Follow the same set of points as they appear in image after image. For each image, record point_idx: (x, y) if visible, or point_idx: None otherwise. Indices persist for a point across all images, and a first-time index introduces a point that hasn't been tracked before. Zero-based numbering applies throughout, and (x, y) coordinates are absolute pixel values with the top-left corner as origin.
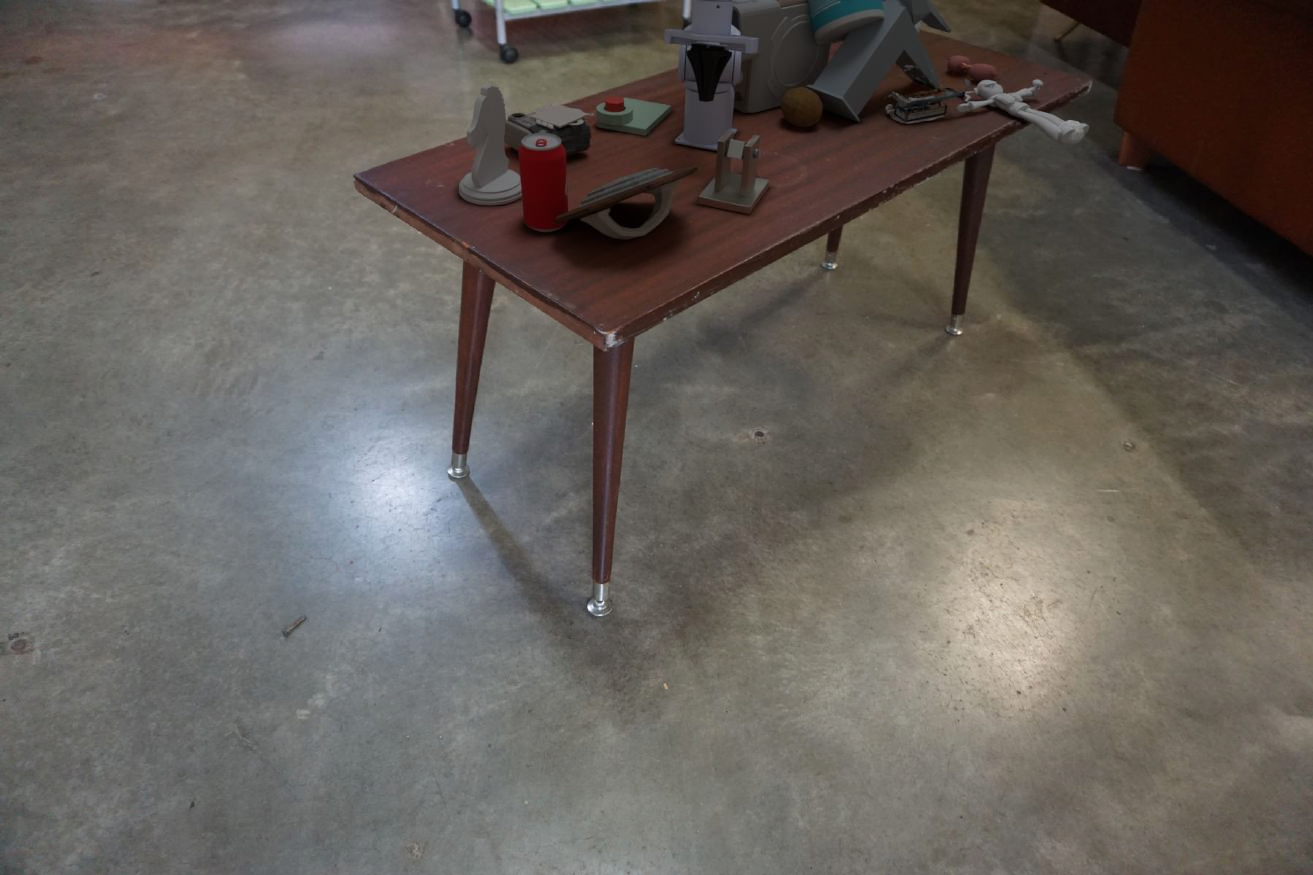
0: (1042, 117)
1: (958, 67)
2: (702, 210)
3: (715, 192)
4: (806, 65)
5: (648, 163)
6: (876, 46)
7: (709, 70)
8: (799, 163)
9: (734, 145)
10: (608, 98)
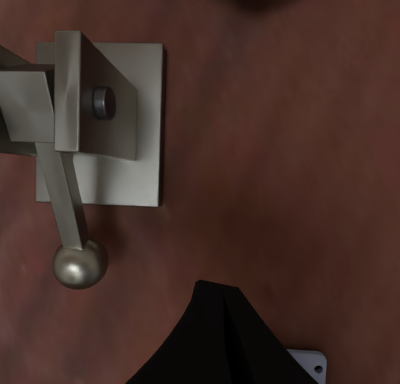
0: None
1: None
2: (147, 26)
3: (131, 82)
4: None
5: (347, 217)
6: None
7: (166, 379)
8: (18, 352)
9: (34, 69)
10: None
